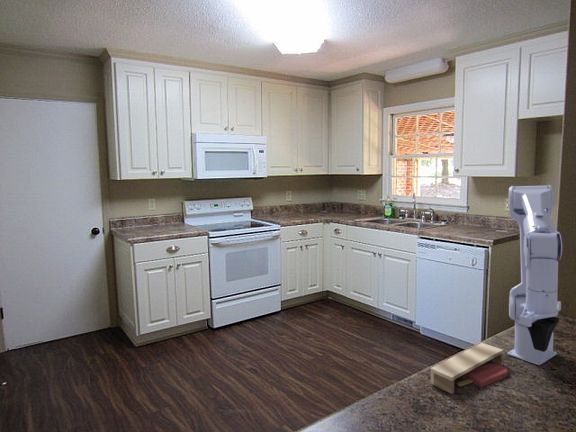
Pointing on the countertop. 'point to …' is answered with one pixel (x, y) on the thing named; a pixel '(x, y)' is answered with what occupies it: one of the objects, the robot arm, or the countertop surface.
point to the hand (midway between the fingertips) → (540, 349)
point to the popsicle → (484, 375)
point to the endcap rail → (463, 365)
